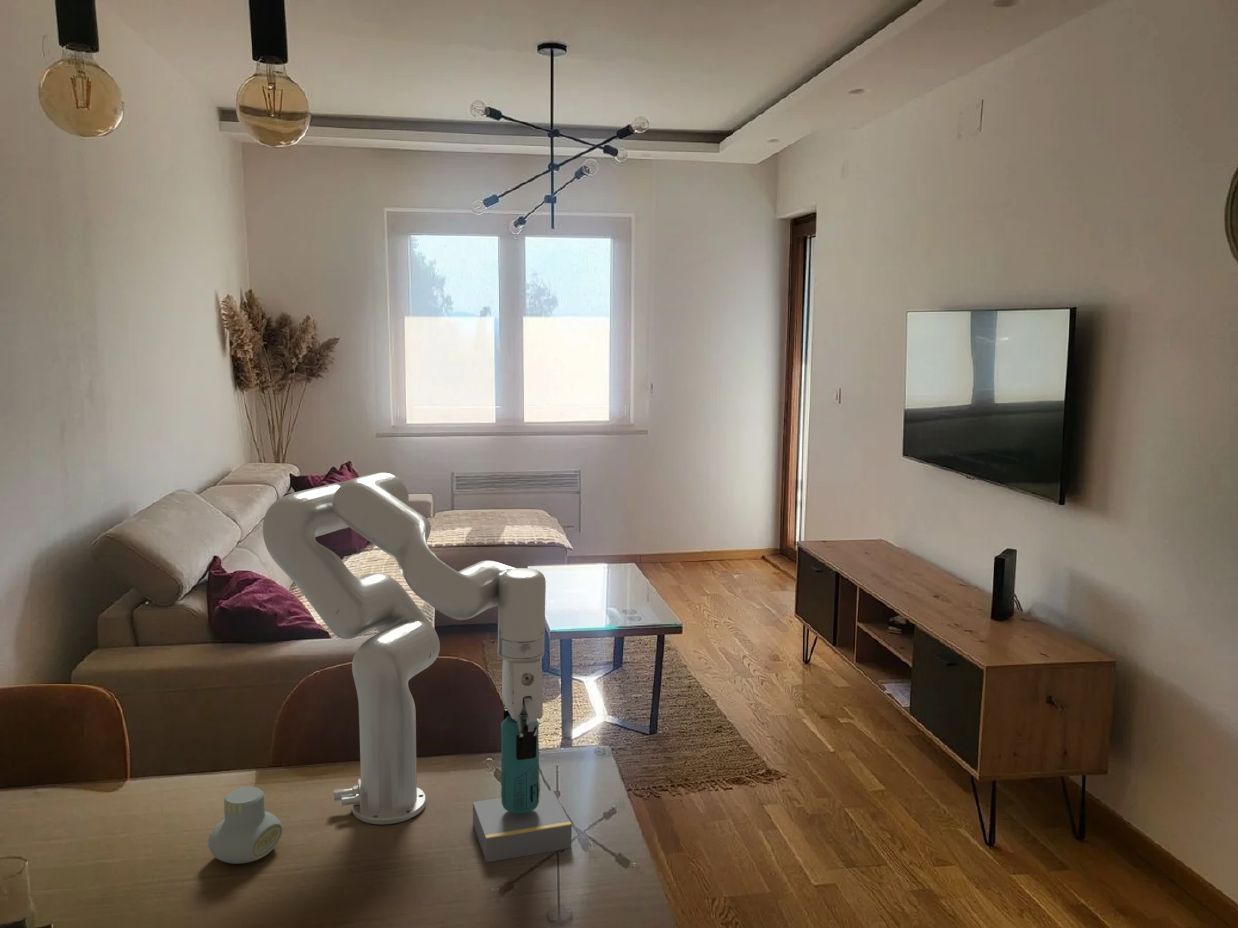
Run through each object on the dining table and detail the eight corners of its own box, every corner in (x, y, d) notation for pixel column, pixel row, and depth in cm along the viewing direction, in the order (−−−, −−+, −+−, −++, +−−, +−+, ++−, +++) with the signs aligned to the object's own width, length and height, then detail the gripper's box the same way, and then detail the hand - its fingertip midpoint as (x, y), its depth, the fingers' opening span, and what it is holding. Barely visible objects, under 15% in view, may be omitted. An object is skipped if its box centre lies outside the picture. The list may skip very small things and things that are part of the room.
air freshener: (243, 877, 140) (241, 816, 139) (200, 866, 143) (197, 806, 141) (290, 840, 150) (288, 783, 149) (249, 831, 153) (246, 774, 151)
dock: (486, 862, 145) (486, 837, 144) (473, 823, 156) (472, 800, 156) (571, 847, 150) (571, 823, 149) (552, 811, 161) (552, 788, 160)
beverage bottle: (533, 824, 149) (534, 707, 146) (494, 819, 150) (494, 703, 147) (544, 804, 155) (545, 692, 152) (507, 799, 157) (507, 688, 154)
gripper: (557, 662, 141) (554, 766, 144) (531, 626, 158) (529, 720, 160) (509, 666, 139) (507, 772, 142) (487, 629, 155) (486, 725, 158)
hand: (519, 744), depth 151 cm, fingers open, 9 cm apart
